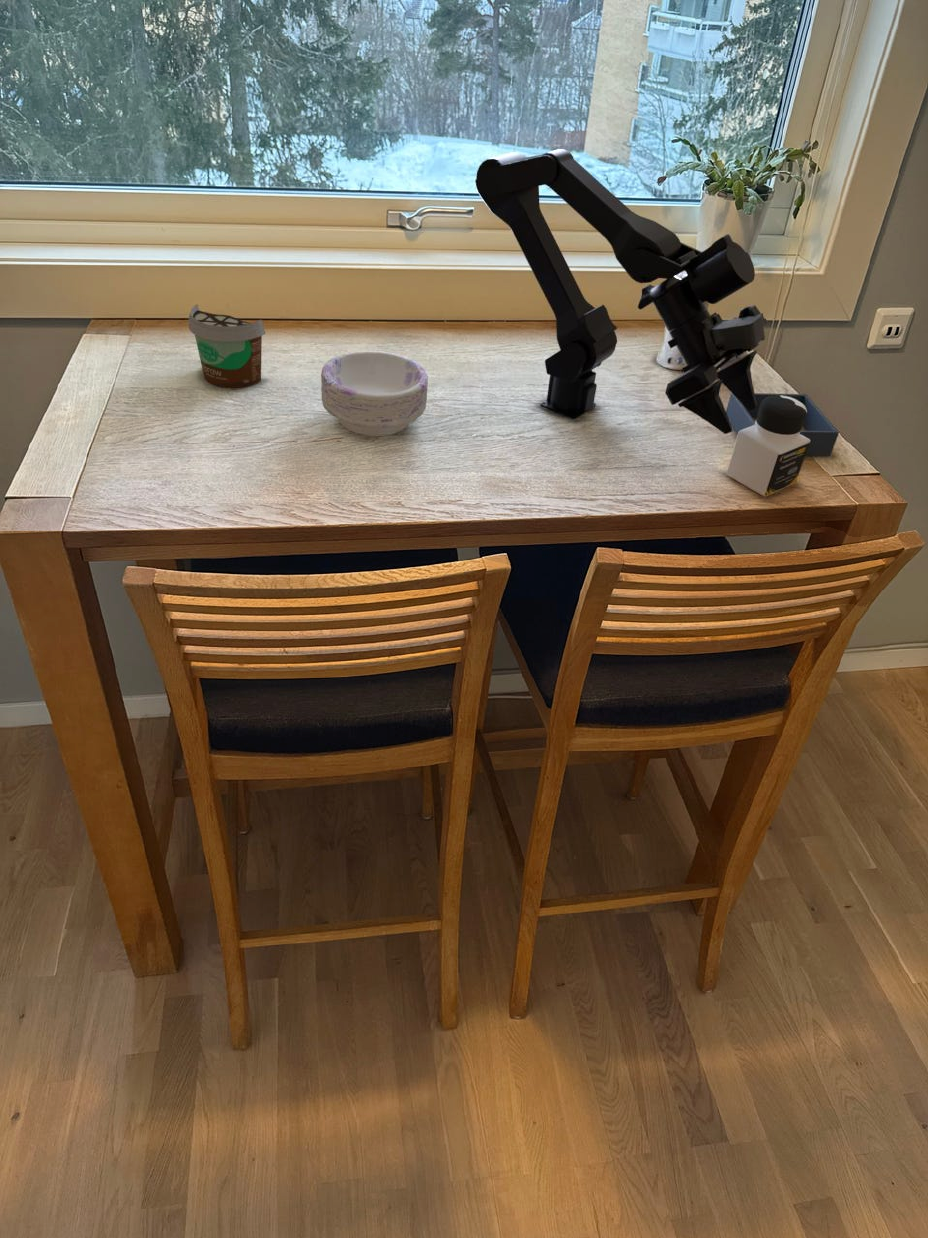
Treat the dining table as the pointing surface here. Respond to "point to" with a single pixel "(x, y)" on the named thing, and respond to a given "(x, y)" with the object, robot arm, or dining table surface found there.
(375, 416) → the paper bowls
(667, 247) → the robot arm
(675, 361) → the silver tumbler
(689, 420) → the dining table surface
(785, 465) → the medicine bottle
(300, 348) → the dining table surface
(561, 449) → the dining table surface
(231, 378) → the food container
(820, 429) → the caddy
